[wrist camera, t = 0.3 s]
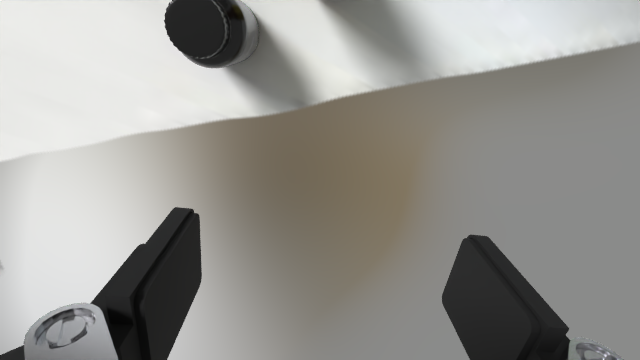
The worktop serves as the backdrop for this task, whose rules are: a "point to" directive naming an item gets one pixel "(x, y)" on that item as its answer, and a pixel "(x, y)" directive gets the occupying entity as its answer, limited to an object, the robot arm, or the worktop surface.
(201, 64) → the supplement bottle
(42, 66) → the worktop surface
